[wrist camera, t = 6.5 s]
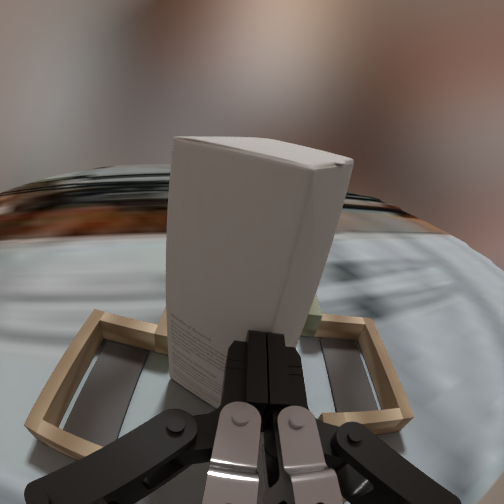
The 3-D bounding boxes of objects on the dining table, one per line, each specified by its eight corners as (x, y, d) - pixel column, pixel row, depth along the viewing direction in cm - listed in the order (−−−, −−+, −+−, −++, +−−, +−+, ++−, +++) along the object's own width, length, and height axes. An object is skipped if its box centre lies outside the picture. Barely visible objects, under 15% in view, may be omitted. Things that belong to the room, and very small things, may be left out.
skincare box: (231, 324, 24) (261, 137, 17) (299, 358, 21) (360, 159, 15) (164, 380, 17) (165, 130, 10) (245, 432, 14) (320, 157, 8)
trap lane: (346, 294, 31) (357, 265, 30) (415, 484, 10) (453, 460, 9) (142, 262, 30) (142, 230, 28) (35, 445, 9) (4, 413, 7)
